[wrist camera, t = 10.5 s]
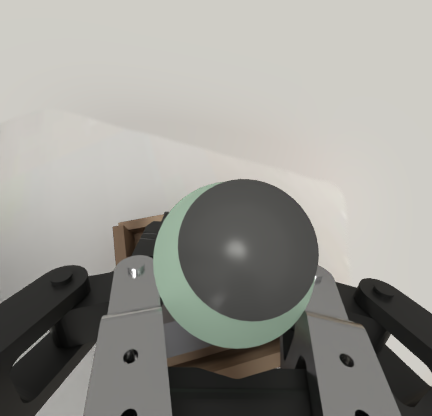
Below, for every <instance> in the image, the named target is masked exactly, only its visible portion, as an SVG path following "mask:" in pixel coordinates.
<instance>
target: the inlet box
mask: <svg viewBox="0 0 432 416" xmlns="http://www.w3.org/2000/svg"><path fill="white" fill-rule="evenodd" d="M163 216H164V214H163V215H158V216H152V217H147V218H142V219H136V220H131V221H126V222H120V223H118V225H119V226H114V227H113V237H114V249H115V261H116V265H117V264H118V263H119V262H120V261H122V260H123V259H125V258H128V257H131V255H132V253H133V251H134V249H135V247H136V245H137V244H138V242H139V240H140V238H141V236H142V234H143V232H144V230H145V228H146V226H147V225H149V224H150V223H151V222H153V221H162V218H163ZM162 316H163V326H164V336H165V346H166V357H167V367H197V368H201V369H204V370H207V371H211V372H214V373H217V374H220V375H224V376H227V377H230V378H234V379H240V378H244V377H247V376H251V375H254V374H258V373H261V372H264V371H268V370H271V369H274V368H277V367H280V336H279V337H278V338H276V339H274V340H272V341H270V342H268V343H265V344H262V345H260V346H255V347H251V348H240V349H234V348H224V347H220V346H216V345H212V344H210V343H207V342H205V341H202V340H200V339H199V338H197V337H195V336H194V335H192V334H190V333H189V332H188V331H187V330H185V329H184V328H183V327H182V326H181V325H180V324H179V323H178V322H177V321H176V320H175V319H174V318H173V317H172V315H171V314H170V313H169V311H168V310H167V308H166V307H165V305H162Z"/></svg>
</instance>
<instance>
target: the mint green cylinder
mask: <svg viewBox="0 0 432 416" xmlns="http://www.w3.org/2000/svg"><path fill="white" fill-rule="evenodd" d="M318 257H319V253H318V243H317V238H316V234H315V231H314V228H313V226H312V224H311V222H310V220H309V218H308V216H307V215H306V213H305V212H304V210H303V209H302V208H301V206H300V205H299V204H298V203H297V202H296V201H295V200H294V199H293V198H292V197H290V196H289V195H288V194H287V193H285V192H284V191H282V190H281V189H279V188H277V187H275V186H273V185H270V184H268V183H265V182H261V181H257V180H249V179H238V180H231V181H227V182H220V183H215V184H211V185H207V186H204V187H202V188H199V189H197V190H195V191H193V192H192V193H190V194H189V195H187V196H186V197H184V198H183V199H182V200H181V201H180V202H178V203H177V204H176V205H175V206H174V208H173V209H172V210H171V211H170V212H169V214H168V215H167V217H166V218H165V220H164V221H163V224H162V226H161V228H160V230H159V232H158V235H157V238H156V242H155V247H154V255H153V268H154V277H155V282H156V286H157V289H158V292H159V294H160V297H161V299H162V301H163V303H164V305H165V307H166V308H167V310H168V311H169V313H170V314H171V315H172V317H173V318H174V319H175V320H176V321H177V322H178V323H179V324H180V325H181V326H182V327H183V328H184V329H185V330H187V331H188V332H189V333H190V334H192V335H194V336H195V337H197V338H199V339H200V340H202V341H205V342H207V343H210V344H212V345H216V346H220V347H224V348H234V349H240V348H251V347H255V346H260V345H262V344H265V343H268V342H270V341H272V340H274V339H276V338H278V337H279V336H281V335H282V334H284V333H285V332H286V331H287V330H289V329H290V328H291V327H292V326H293V325H294V324H295V323H296V321H297V320H298V319H299V318H300V316H301V315H302V313H303V312H304V310H305V308H306V306H307V304H308V302H309V300H310V297H311V294H312V292H313V287H314V282H315V275H316V272H317V267H318Z"/></svg>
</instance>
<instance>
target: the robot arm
mask: <svg viewBox="0 0 432 416" xmlns="http://www.w3.org/2000/svg"><path fill="white" fill-rule="evenodd" d="M168 214H169V212H165V213H164V216H163V218H162V221H153V222H151V223H150V224H149V225H147V226H146V228H145V230H144V232H143V234H142V236H141V238H140V240H139V242H138V244H137V245H136V247H135V249H134V251H133V253H132V255H131V257H128V258H125V259H123V260H122V261H120V262H119V263H118V264H117V265H116V267H115V269H114V271H113V272H109V273H105V274H100V275H94V276H88V273H87V270H86V269H85V268H83V267H81V266H76V265H69V266H63V267H59V268H56V269H54V270H51V271H49V272H48V273H46V274H44V275H43V276H41V277H40V278H38V279H37V280H35V281H34V282H32V283H31V284H29V285H28V286H26V287H25V288H23V289H22V290H20V291H19V292H17V293H16V294H14V295H13V296H11V297H10V298H8V299H7V300H5V301H4V302H2V303H1V304H0V416H35V415H36V413H37V412H38V411H39V410H40V409H41V407H42V406H43V405H44V404H45V403H46V402H47V400H48V399H49V398H50V397H51V396H52V394H53V393H54V392H55V391H56V390H57V388H58V387H59V386H60V385H61V384H62V383H63V381H64V380H65V379H66V378H67V377H68V375H69V374H70V373H71V372H72V371H73V369H74V368H75V367H76V366H77V365H78V364H79V362H80V361H81V360H82V359H83V358H84V356H85V355H86V354H87V353H88V352H89V350H90V349H91V348H92V347H93V346H94V344H95V343H96V342H97V343H96V349H95V354H94V360H93V365H92V371H91V376H90V382H89V387H88V393H87V398H86V404H85V409H84V415H83V416H432V387H431V386H429V385H428V384H427V383H425V382H424V381H423V380H422V379H421V378H420V377H419V376H418V375H417V374H416V373H415V372H414V371H413V370H411V368H410V367H409V366H407V365H406V364H405V363H404V362H403V361H402V360H401V359H400V358H399V357H398V356H397V355H396V354H395V353H394V352H393V351H392V350H391V349H389V348H388V347H387V346H386V345H385V343H386V341H387V340H388V338H389V336H390V334H392V335H393V336H394V337H395V338H396V339H398V340H399V341H400V342H401V343H402V344H403V345H404V346H405V347H407V348H408V349H409V350H410V351H411V352H412V353H413V354H414V355H416V356H417V357H418V358H419V359H420V360H421V361H422V362H424V363H425V364H426V365H427V367H428V368H429V369H430V370H431V372H432V314H431V313H430V312H428V311H427V310H426V309H424V308H423V307H421V306H420V305H419V304H417V303H416V302H414V301H413V300H412V299H410V298H409V297H407V296H406V295H404V294H403V293H402V292H400V291H399V290H397V289H396V288H394V287H393V286H391V285H389V284H387V283H385V282H383V281H380V280H377V279H371V278H367V279H362V280H361V281H360V283H359V286H358V287H357V288H356V287H352V286H348V285H344V284H341V283H337V282H335V280H334V278H333V276H332V275H331V274H330V273H329V272H328V271H327V270H326V269H324V268H322V267H321V266H318V267H317V272H316V275H315V282H314V287H313V292H312V294H311V297H310V300H309V302H308V304H307V306H306V308H305V310H304V312H303V313H302V315H301V316H300V318H299V319H298V320H297V321H296V323H295V324H294V325H293V326H292V327H291V328H290V329H289V330H287V331H286V332H285V333H284V334H282V335H281V336H280V369H271V370H268V371H264V372H261V373H258V374H254V375H251V376H247V377H244V378H240V379H234V378H230V377H227V376H224V375H220V374H217V373H214V372H211V371H207V370H204V369H201V368H197V367H167V357H166V346H165V336H164V326H163V316H162V305H164V303H163V301H162V299H161V297H160V294H159V292H158V289H157V286H156V282H155V277H154V268H153V255H154V247H155V242H156V238H157V235H158V232H159V230H160V228H161V226H162V224H163V221H164V220H165V218H166V217H167V215H168ZM48 330H49V331H50V333H48V334H47V335H46V336H45V337H44V338H43V339H42V340H41V341H40V342H39V343H38V344H37V345H35V346H34V347H33V348H32V349H31V350H30V351H29V352H28V353H27V354H26V355H25V356H23V357H22V358H21V359H20V360H19V361H18V362H17V363H16V364H15V365H14V366H13V364H14V363H15V361H16V360H17V359H18V357H19V356H20V355H21V354H22V353H24V352H25V351H26V350H27V349H28V348H29V347H30V346H31V345H32V344H34V343H35V342H36V341H37V340H38V339H39V338H40V337H41V336H42V335H43V334H45V333H46V332H47V331H48ZM12 366H13V367H12Z"/></svg>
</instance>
